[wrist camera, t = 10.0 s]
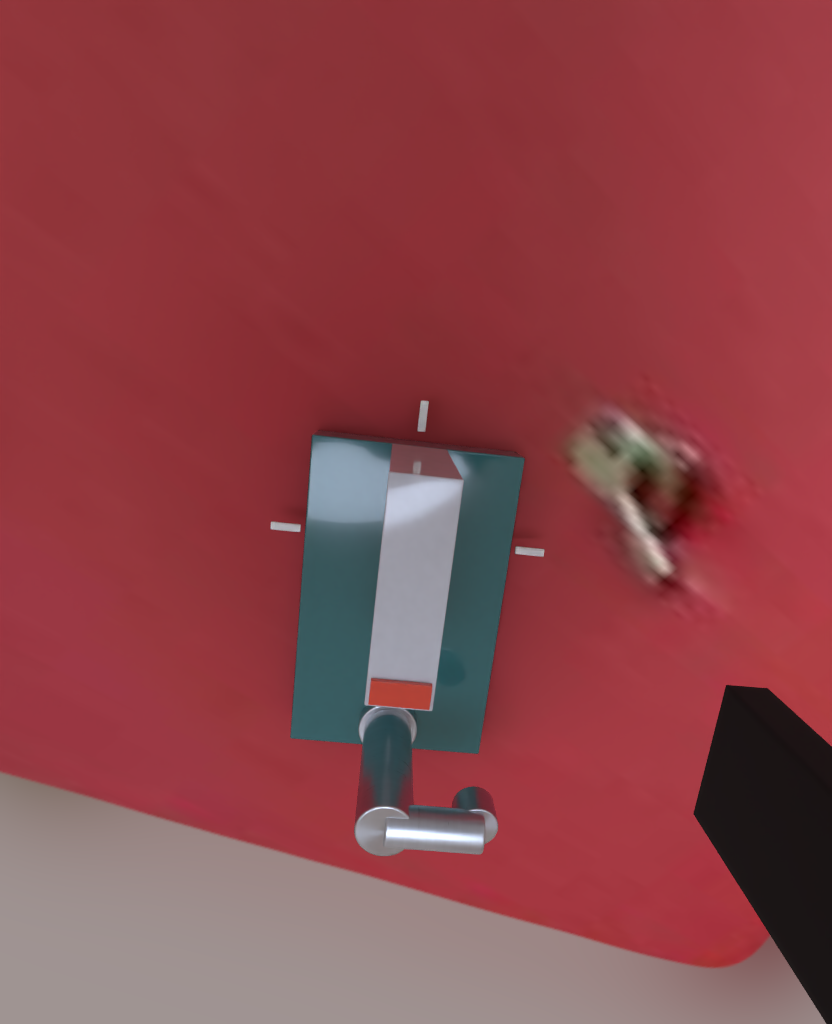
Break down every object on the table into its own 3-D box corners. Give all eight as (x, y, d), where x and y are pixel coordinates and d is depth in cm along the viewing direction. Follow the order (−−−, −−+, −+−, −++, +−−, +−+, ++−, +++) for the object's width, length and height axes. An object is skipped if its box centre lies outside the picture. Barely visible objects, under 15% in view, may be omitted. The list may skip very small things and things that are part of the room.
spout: (356, 744, 32) (342, 868, 24) (361, 693, 31) (349, 804, 23) (473, 754, 32) (496, 879, 24) (480, 703, 31) (507, 816, 23)
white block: (392, 443, 28) (388, 472, 20) (447, 449, 28) (465, 481, 20) (372, 622, 30) (363, 709, 22) (424, 627, 30) (432, 715, 22)
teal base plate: (287, 382, 29) (278, 384, 27) (555, 413, 30) (567, 417, 28) (267, 714, 33) (258, 738, 31) (502, 734, 34) (508, 758, 32)
